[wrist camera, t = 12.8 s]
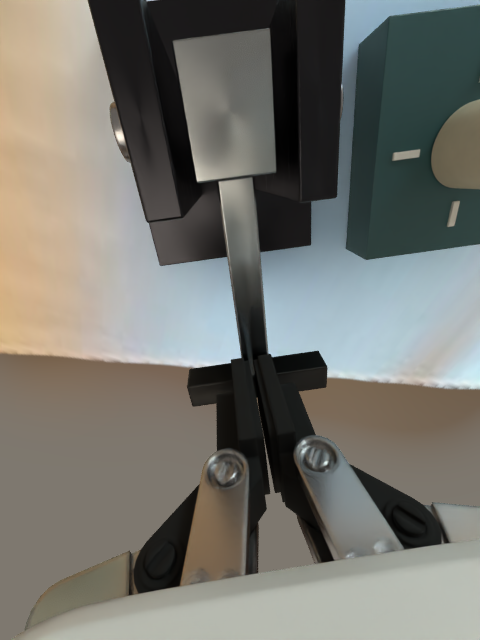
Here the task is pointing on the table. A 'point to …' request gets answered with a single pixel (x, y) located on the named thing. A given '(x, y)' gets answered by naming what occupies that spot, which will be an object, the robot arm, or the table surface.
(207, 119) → the lever
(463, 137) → the dial
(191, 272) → the table surface
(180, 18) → the pivoting lever stand
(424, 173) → the dial panel
